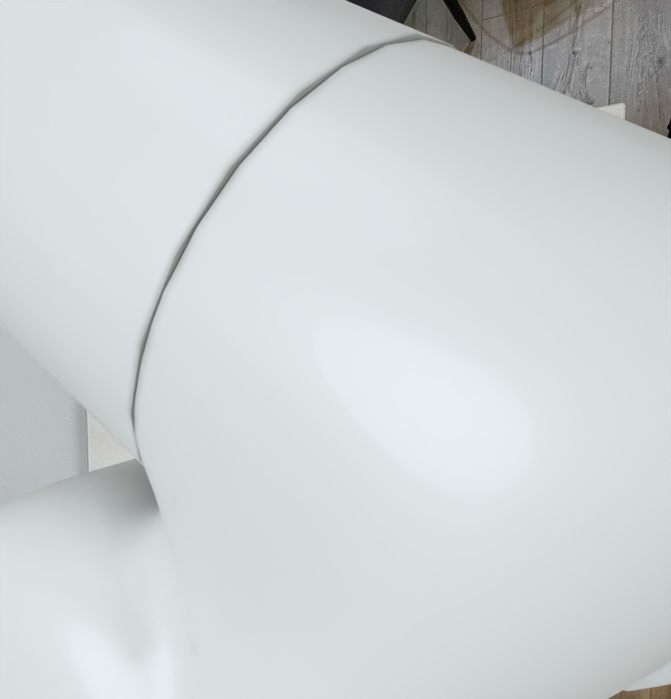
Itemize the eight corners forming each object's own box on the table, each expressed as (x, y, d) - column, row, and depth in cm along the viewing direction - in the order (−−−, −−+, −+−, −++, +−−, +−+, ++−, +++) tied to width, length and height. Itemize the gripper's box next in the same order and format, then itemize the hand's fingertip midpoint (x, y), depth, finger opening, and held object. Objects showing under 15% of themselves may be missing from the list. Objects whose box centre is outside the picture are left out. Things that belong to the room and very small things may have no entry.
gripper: (497, 276, 16) (554, 298, 32) (168, 510, 22) (355, 429, 39) (659, 503, 14) (633, 405, 31) (254, 684, 21) (411, 523, 37)
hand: (477, 419), depth 35 cm, fingers closed
